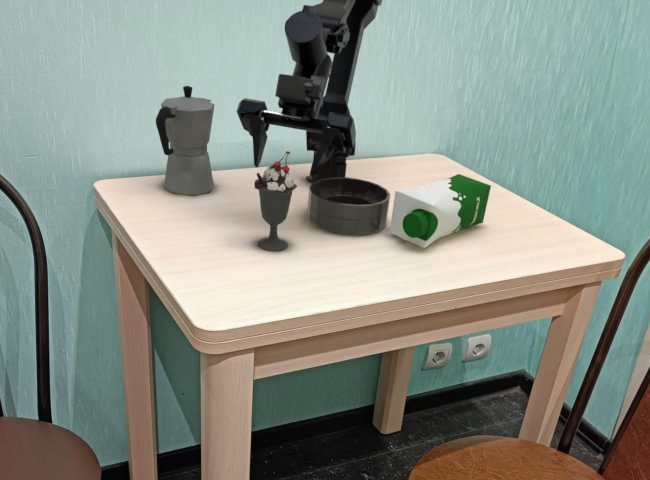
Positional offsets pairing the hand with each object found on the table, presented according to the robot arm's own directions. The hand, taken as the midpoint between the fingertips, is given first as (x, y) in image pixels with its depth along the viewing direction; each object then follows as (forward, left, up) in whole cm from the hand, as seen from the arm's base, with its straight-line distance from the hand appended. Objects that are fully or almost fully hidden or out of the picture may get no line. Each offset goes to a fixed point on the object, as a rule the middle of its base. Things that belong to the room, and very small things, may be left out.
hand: (283, 170), depth 120 cm
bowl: (0, +15, -11) cm, 19 cm away
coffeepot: (-27, -2, -11) cm, 29 cm away
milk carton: (+10, +36, -7) cm, 38 cm away
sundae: (+2, -3, -11) cm, 12 cm away
